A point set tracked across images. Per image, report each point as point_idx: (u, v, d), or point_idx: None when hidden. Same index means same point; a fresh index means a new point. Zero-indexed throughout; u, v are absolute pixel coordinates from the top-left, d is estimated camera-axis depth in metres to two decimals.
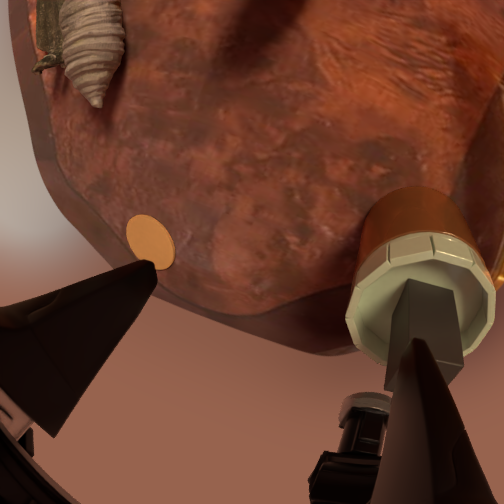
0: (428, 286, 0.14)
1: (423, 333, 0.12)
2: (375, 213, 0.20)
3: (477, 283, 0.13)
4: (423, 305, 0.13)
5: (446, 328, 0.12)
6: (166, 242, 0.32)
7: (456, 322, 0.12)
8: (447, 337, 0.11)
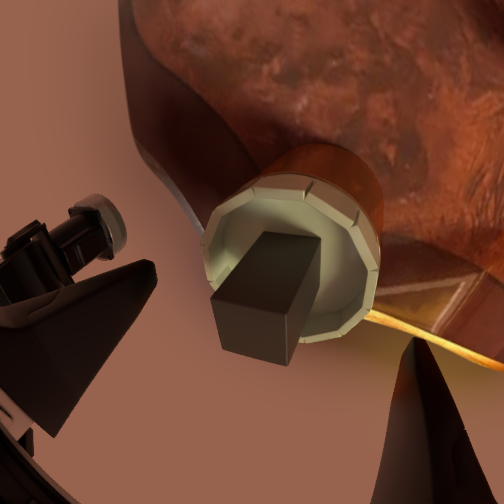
0: (319, 263, 0.15)
1: (298, 304, 0.12)
2: (350, 160, 0.17)
3: (333, 307, 0.16)
4: (311, 277, 0.13)
5: (303, 317, 0.13)
6: None
7: (306, 319, 0.14)
8: (299, 326, 0.12)
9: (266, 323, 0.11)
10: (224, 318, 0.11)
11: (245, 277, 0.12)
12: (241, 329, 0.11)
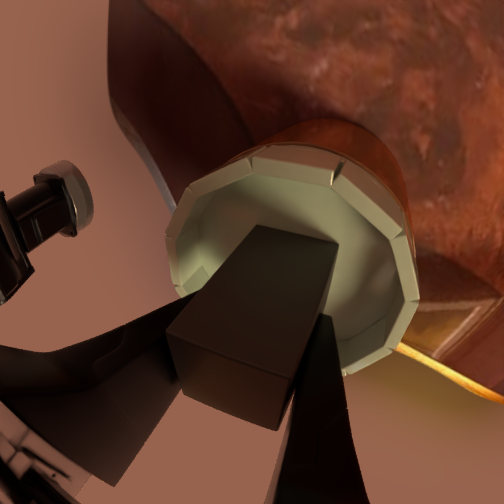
0: (331, 279, 0.10)
1: (305, 349, 0.07)
2: (377, 144, 0.12)
3: (338, 335, 0.12)
4: (323, 302, 0.09)
5: None
6: None
7: None
8: None
9: (255, 382, 0.06)
10: (186, 362, 0.07)
11: (225, 299, 0.07)
12: (212, 381, 0.07)
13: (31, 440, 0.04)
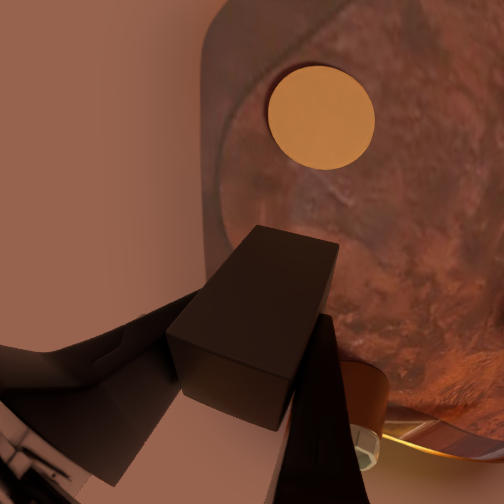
0: (331, 279, 0.10)
1: (305, 350, 0.07)
2: (378, 386, 0.25)
3: None
4: (323, 302, 0.09)
5: None
6: (330, 160, 0.19)
7: None
8: None
9: (255, 383, 0.06)
10: (186, 362, 0.07)
11: (225, 299, 0.07)
12: (212, 382, 0.07)
13: (31, 440, 0.04)
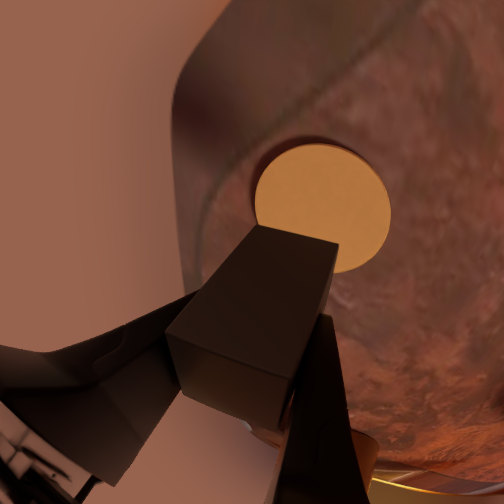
0: (331, 279, 0.10)
1: (305, 350, 0.07)
2: (366, 453, 0.23)
3: None
4: (323, 301, 0.09)
5: None
6: None
7: None
8: None
9: (254, 383, 0.06)
10: (186, 362, 0.07)
11: (224, 299, 0.07)
12: (211, 381, 0.07)
13: (31, 440, 0.04)
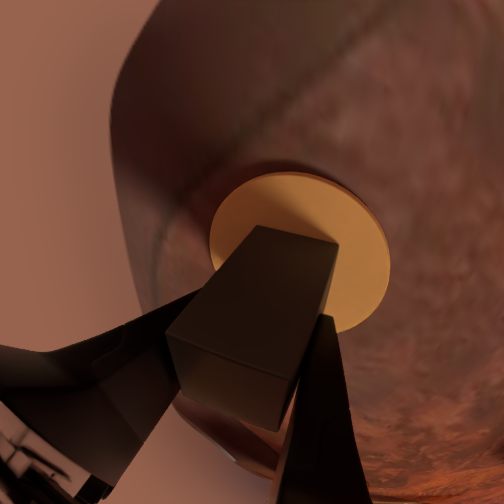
0: (331, 279, 0.10)
1: (306, 351, 0.07)
2: None
3: None
4: (323, 302, 0.09)
5: None
6: None
7: None
8: (299, 376, 0.08)
9: (255, 384, 0.06)
10: (186, 363, 0.07)
11: (225, 300, 0.07)
12: (212, 382, 0.07)
13: (31, 440, 0.04)
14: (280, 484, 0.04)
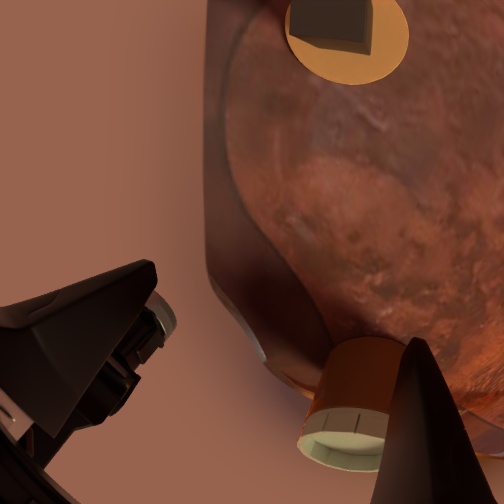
0: (372, 26, 0.11)
1: (369, 3, 0.08)
2: None
3: (369, 454, 0.20)
4: (371, 13, 0.10)
5: (369, 31, 0.10)
6: (359, 73, 0.14)
7: (368, 47, 0.11)
8: (368, 29, 0.09)
9: None
10: None
11: None
12: (318, 0, 0.08)
13: None
14: None
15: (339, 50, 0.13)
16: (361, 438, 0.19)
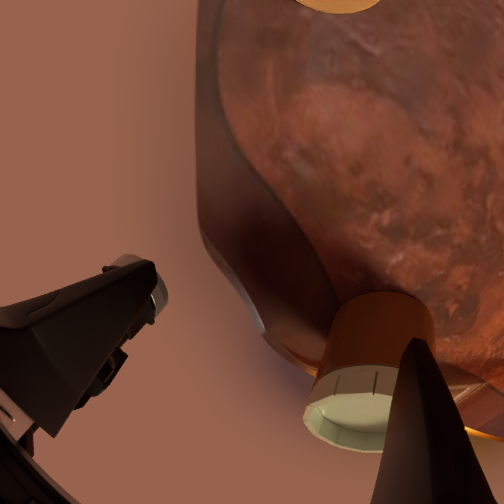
0: None
1: None
2: (425, 322, 0.19)
3: (386, 430, 0.18)
4: None
5: None
6: (347, 2, 0.12)
7: None
8: None
9: None
10: None
11: None
12: None
13: None
14: None
15: None
16: (378, 408, 0.17)
